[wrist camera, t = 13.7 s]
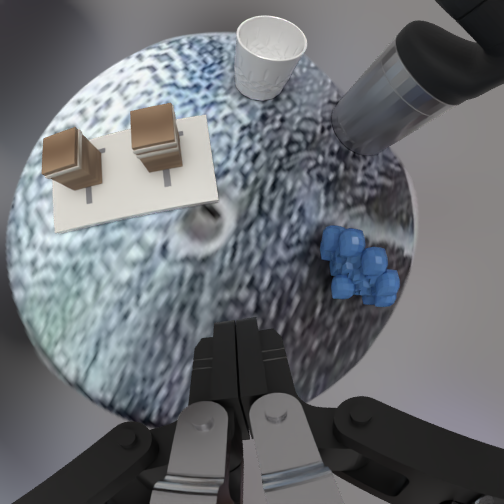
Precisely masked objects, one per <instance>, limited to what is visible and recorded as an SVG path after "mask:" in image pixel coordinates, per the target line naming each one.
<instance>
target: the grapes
mask: <svg viewBox="0 0 504 504" xmlns="http://www.w3.org/2000/svg"><path fill="white" fill-rule="evenodd" d="M320 253H321V258H322V260H328V261H330V265H329V266H330V273H331V276H335V277H334V278H333V279H332V283H331V290H332V297H333V298H335V299H348V298H350V297H351V296H353V295H354V294H355V295H362V300H363V304H368V305H373V304H375V306H378V307H387V306H391V305H392V304H394V302H395V300H396V293H397V292H398V289H399V287H400V280H399V276H398V273H397V271H396V270H391V269H387V266H388V260H387V255H386V252H385V249H383V248H380V247H370V248H366V249H365V238H364V235H363V231H361V230H358V229H352V228H348V229H345V228H344V227H341V226H334V225H332V226H328V227H326V228H325V229H324V231H323V236H322V241H321V245H320Z"/></svg>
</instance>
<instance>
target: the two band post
mask: <svg viewBox="0 0 504 504" xmlns="http://www.w3.org/2000/svg"><path fill="white" fill-rule="evenodd" d="M130 115H131V144H132V152H133V153H134V154H136V157H137V159H140V160H141V162H142V163H143V165H144V166H145V167H146V169H147V170H148V172H149V173H150V172H155V171H160V170H165V169H171V168H176V167H182V166H183V164H182V155H181V147H180V138H179V133H178V129H177V125H176V117H175V112H174V107H173V105H172V104H171V103H168V104H162V105H157V106H152V107H148V108H143V109H139V110H134V111H130Z"/></svg>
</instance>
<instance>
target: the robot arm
mask: <svg viewBox="0 0 504 504" xmlns="http://www.w3.org/2000/svg"><path fill="white" fill-rule="evenodd" d="M435 1H436V2H437V3H438V4H439V5H440V6H441V7H442V8H443V9H444V10H445V11H446V12H447V13H448V14H449V15H450V16H451V17H452V18H454V19H455V20H456V22H457V23H459V24H460V25H461V26H462V27H463V28H464V29H465V30H466V31H467V33H468V34H470V36H471V37H473V39H474V40H475V41H476V42H477V43H475V42H471V41H468V40H465V39H463V38H460V37H458V36H456V35H454V34H452V33H450V32H448V31H446V30H444V29H443V28H441V27H439V26H437V25H435V24H432V23H429V22H426V21H413V22H411V23H409V24H408V25H406V26H405V27H404V28H403V29H402V30H401V32H400V33H399V34H398V35H397V36H396V37H395V38H394V39H393V41H392V42H391V43H390V44H389V45H388V46H387V47H386V48H385V49H384V51H383V52H382V53H381V54H380V55H379V56H378V58H377V59H376V60H375V61H374V62H373V63H372V64H371V65H370V67H369V68H368V69H367V70H366V71H365V72H364V74H363V75H362V76H361V77H360V78H359V79H358V81H357V82H356V83H355V84H354V85H353V86H352V88H351V89H350V90H349V91H348V92H347V93H346V94H345V95H344V97H343V98H342V99H341V100H340V101H339V103H338V104H337V105H336V106H335V108H334V110H333V112H332V125H333V128H334V131H335V133H336V135H337V137H338V138H339V139H340V141H341V142H342V143H343V144H344V145H345V146H346V147H347V148H349V149H350V150H352V151H353V152H355V153H358V154H361V155H365V156H371V155H375V154H377V153H379V152H381V151H383V150H384V149H386V148H388V147H389V146H391V145H393V144H394V143H396V142H397V141H399V140H401V139H402V138H404V137H406V136H407V135H409V134H410V133H412V132H414V131H416V130H417V129H419V128H421V127H422V126H424V125H426V124H427V123H429V122H431V121H432V120H434V119H435V118H437V117H439V116H441V115H442V114H444V113H445V112H447V111H449V110H450V109H452V108H454V107H456V106H457V105H459V104H461V103H462V102H464V101H466V100H468V99H472V98H476V97H478V96H480V95H482V94H484V93H486V92H488V91H489V90H491V89H493V88H495V87H497V86H499V85H502V84H504V0H435ZM249 430H250V434H251V437H252V439H254V442H255V447H256V452H257V457H258V462H259V466H260V471H261V476H262V483H263V489H264V493H265V498H266V502H267V504H344V502H343V499H342V497H341V494H340V491H339V489H338V487H337V484H336V481H335V479H334V476H333V474H332V473H334V474H335V475H337V476H338V477H340V478H342V479H344V480H346V481H347V482H349V483H351V484H353V485H355V486H357V487H359V488H360V489H362V490H364V491H366V492H368V493H370V494H372V495H374V496H376V497H378V498H380V499H382V500H384V501H386V502H388V503H390V504H504V449H502V448H499V447H496V446H492V445H489V444H486V443H483V442H480V441H477V440H474V439H471V438H468V437H466V436H463V435H460V434H457V433H454V432H452V431H449V430H446V429H444V428H441V427H439V426H436V425H434V424H431V423H428V422H426V421H423V420H421V419H419V418H416V417H414V416H412V415H409V414H407V413H405V412H402V411H400V410H398V409H395V408H393V407H391V406H389V405H386V404H384V403H382V402H380V401H377V400H375V399H373V398H370V397H364V396H359V397H353V398H350V399H348V400H345V401H344V402H342V403H341V404H340V405H339V406H338V408H322V407H315V406H311V405H309V404H307V403H305V402H303V401H302V400H301V399H300V398H299V397H298V395H297V394H296V391H295V388H294V384H293V380H292V376H291V372H290V368H289V364H288V361H287V357H286V353H285V349H284V345H283V341H282V337H281V336H280V335H279V334H278V333H277V332H276V331H275V330H274V329H267V330H261V331H258V326H257V319H256V317H253V318H246V319H239V320H236V323H235V320H232V321H225V322H217V323H214V333H213V337H209V338H202V339H201V340H200V342H199V343H198V344H197V346H196V347H195V351H194V361H193V371H192V376H191V385H190V395H189V404H188V407H186V408H185V409H184V410H183V411H182V412H181V413H180V415H179V417H178V420H177V421H175V422H173V423H171V424H169V425H166V426H162V427H159V428H155V429H151V430H149V429H148V428H147V427H146V426H145V425H143V424H141V423H139V422H124V423H121V424H119V425H117V426H116V427H115V428H113V429H112V430H111V431H110V432H108V433H107V434H106V435H105V436H103V437H102V438H101V439H99V440H98V441H97V442H96V443H94V444H93V445H92V446H91V447H90V448H88V449H87V450H85V451H84V452H83V453H81V454H80V455H79V456H77V457H76V458H75V459H74V460H72V461H71V462H70V463H68V464H67V465H66V466H65V467H63V468H62V469H60V470H59V471H57V472H56V473H55V474H53V475H52V476H51V477H49V478H48V479H47V480H45V481H44V482H42V483H41V484H39V485H38V486H37V487H35V488H34V489H32V490H31V491H30V492H28V493H27V494H25V495H24V496H22V497H21V498H20V499H18V500H16V501H15V502H13V503H12V504H243V483H244V458H243V443H242V440H249V439H250V435H249Z"/></svg>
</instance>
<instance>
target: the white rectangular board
mask: <svg viewBox="0 0 504 504" xmlns="http://www.w3.org/2000/svg"><path fill="white" fill-rule="evenodd" d="M176 125H177V129H178V133H179V138H180V147H181V155H182V164H183V166H182V167H176V168H171V169H165V170H160V171H155V172H150V173H149V172H148V170H147V169H146V167H145V166H144V165H143V163H142V162H141V160H140V159H137V157H136V154H134V153H133V152H132V144H131V129H128V130H124V131H120V132H116V133H112V134H108V135H105V136H101V137H97V138H94V139H90V140H89V141H90V142H91V143H92V144H93V145H94V146H95V147H96V148H97V149H98V150H99V151H100V152H101V164H102V184H98V185H94V186H90V187H86V188H83V189H79V190H75V191H74V190H72V189H70V188H68V187H66V186H64V185H62V184H60V183H58V182H56V181H54V180H53V211H54V226H55V233H59V234H62V233H66V232H70V231H74V230H79V229H83V228H87V227H91V226H96V225H100V224H105V223H110V222H114V221H119V220H124V219H128V218H133V217H138V216H143V215H148V214H154V213H159V212H164V211H170V210H175V209H181V208H186V207H192V206H198V205H204V204H210V203H216V202H218V201H219V199H218V192H217V186H216V180H215V173H214V167H213V160H212V153H211V147H210V140H209V133H208V126H207V119H206V115H201V116H194V117H188V118H182V119H176Z"/></svg>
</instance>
